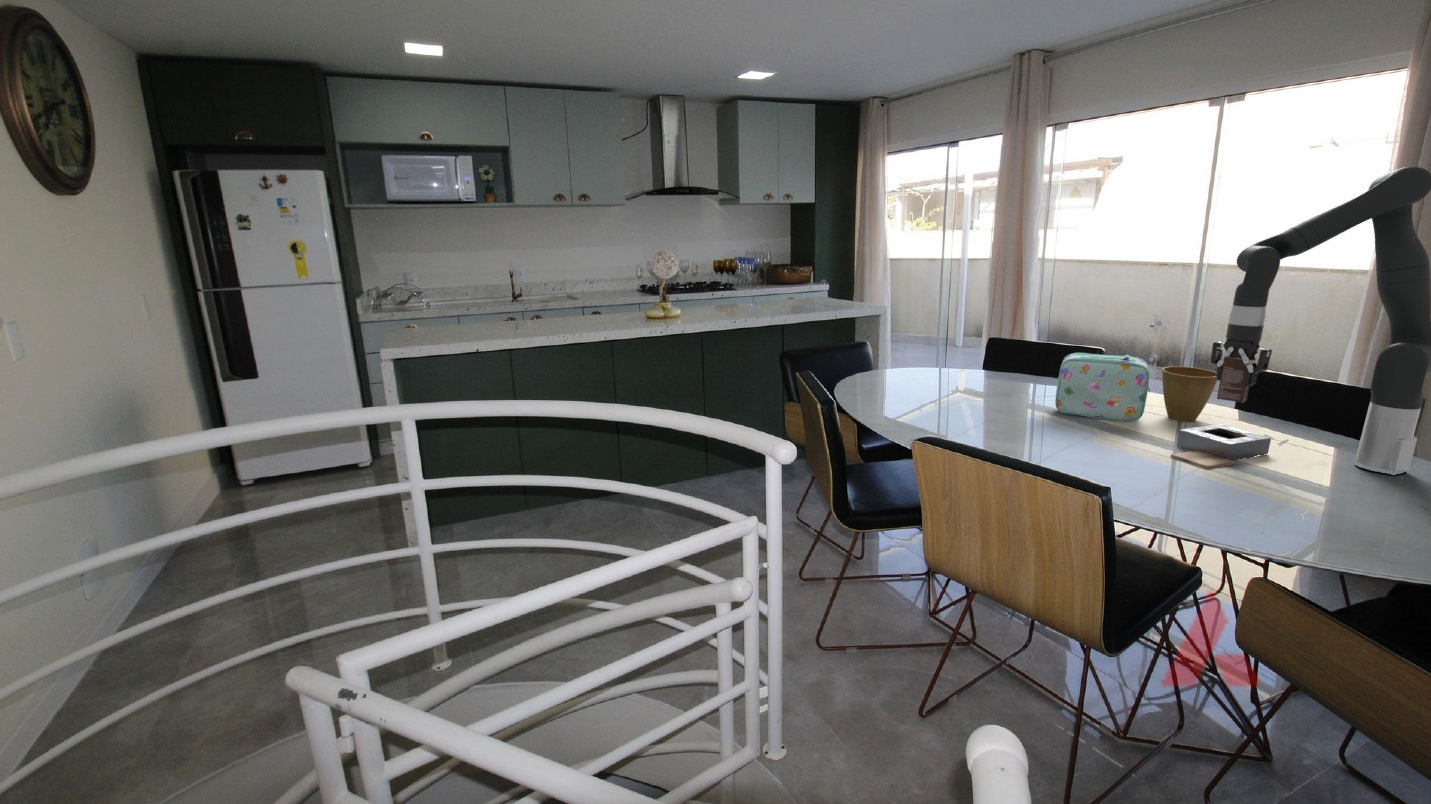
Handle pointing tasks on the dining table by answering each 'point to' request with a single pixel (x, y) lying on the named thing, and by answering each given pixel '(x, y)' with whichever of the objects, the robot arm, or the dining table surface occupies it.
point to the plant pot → (1186, 391)
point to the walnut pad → (1202, 459)
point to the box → (1233, 380)
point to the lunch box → (1103, 386)
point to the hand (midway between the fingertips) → (1234, 382)
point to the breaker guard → (1224, 441)
